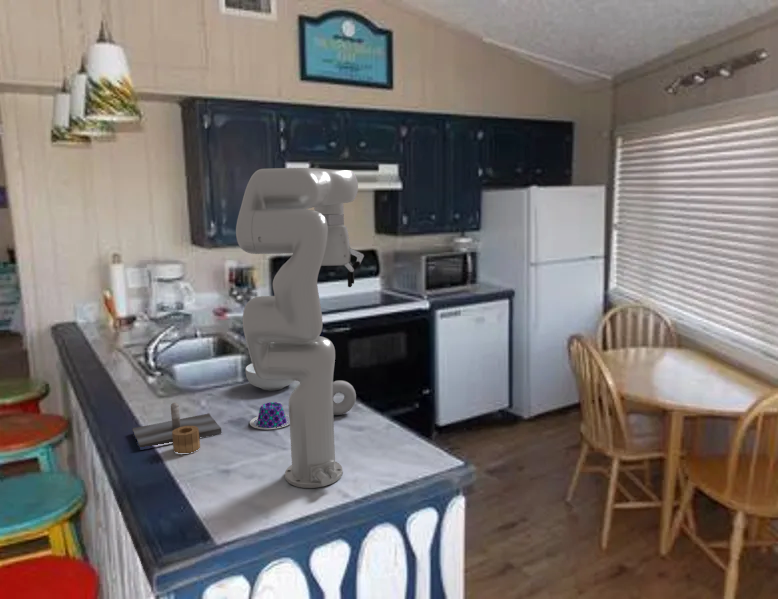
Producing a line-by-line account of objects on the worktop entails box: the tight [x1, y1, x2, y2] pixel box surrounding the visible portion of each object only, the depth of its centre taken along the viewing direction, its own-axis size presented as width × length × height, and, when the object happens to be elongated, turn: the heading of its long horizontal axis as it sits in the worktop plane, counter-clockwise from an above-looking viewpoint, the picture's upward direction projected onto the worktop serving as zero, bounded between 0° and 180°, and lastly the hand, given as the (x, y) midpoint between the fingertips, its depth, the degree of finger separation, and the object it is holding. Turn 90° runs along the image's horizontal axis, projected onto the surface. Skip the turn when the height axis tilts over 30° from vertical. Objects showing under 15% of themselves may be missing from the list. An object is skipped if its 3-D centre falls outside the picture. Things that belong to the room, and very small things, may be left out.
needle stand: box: [132, 402, 223, 447], centre depth 160 cm, size 13×20×8 cm, turn 120°
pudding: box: [249, 401, 290, 430], centre depth 167 cm, size 12×12×5 cm
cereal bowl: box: [245, 363, 295, 391], centre depth 198 cm, size 17×17×7 cm
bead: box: [172, 426, 201, 453], centre depth 150 cm, size 6×6×5 cm
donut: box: [333, 380, 357, 416], centre depth 171 cm, size 10×4×10 cm, turn 111°
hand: (331, 286), depth 161 cm, fingers open, 9 cm apart
